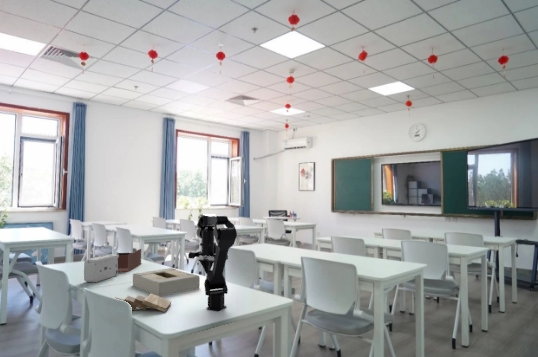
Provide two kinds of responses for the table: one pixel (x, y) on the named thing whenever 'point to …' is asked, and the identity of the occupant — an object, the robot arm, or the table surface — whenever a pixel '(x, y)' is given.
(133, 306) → the domino
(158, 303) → the square wooden board
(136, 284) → the box
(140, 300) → the domino
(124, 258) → the desk organizer
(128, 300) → the domino
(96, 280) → the stereo radio cassette player
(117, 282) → the table surface
